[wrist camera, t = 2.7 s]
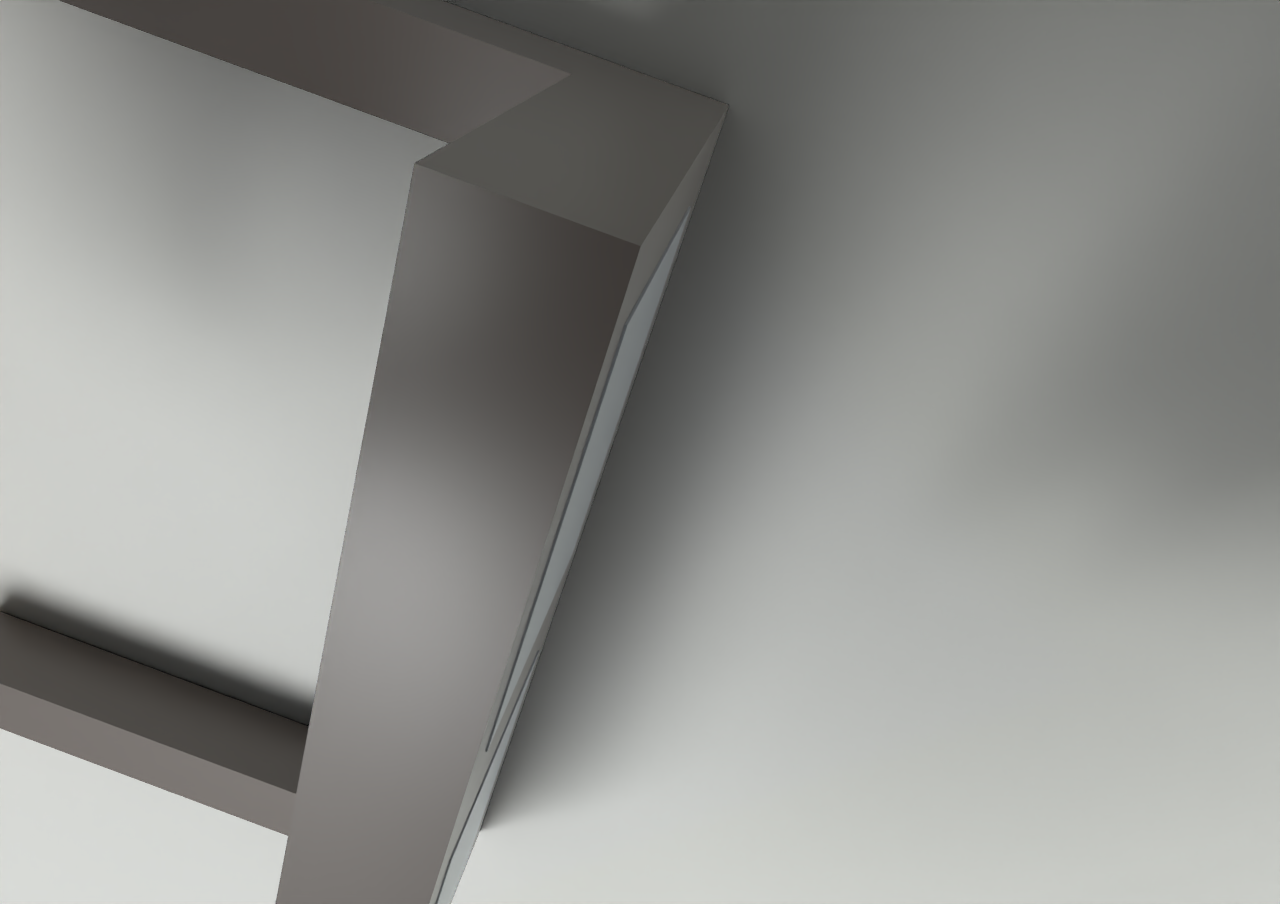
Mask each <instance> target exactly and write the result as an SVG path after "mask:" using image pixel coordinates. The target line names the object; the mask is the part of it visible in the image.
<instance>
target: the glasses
mask: <svg viewBox="0 0 1280 904" xmlns="http://www.w3.org/2000/svg"><path fill="white" fill-rule="evenodd" d="M60 1H62V2H65V3H68V4H70V5H73V6H76V7H79V8H81V9H84V10H87V11H90V12H92V13H95V14H98V15H100V16H103V17H106V18H109V19H111V20H114V21H117V22H120V23H122V24H125V25H128V26H131V27H133V28H136V29H139V30H141V31H144V32H147V33H150V34H152V35H155V36H158V37H161V38H163V39H166V40H169V41H171V42H174V43H177V44H180V45H182V46H185V47H188V48H191V49H193V50H196V51H199V52H201V53H204V54H207V55H210V56H212V57H215V58H218V59H221V60H223V61H226V62H229V63H232V64H234V65H237V66H240V67H242V68H245V69H248V70H251V71H253V72H256V73H259V74H262V75H264V76H267V77H270V78H272V79H275V80H278V81H281V82H283V83H286V84H289V85H292V86H294V87H297V88H300V89H303V90H305V91H308V92H311V93H313V94H316V95H319V96H322V97H324V98H327V99H330V100H333V101H335V102H338V103H341V104H343V105H346V106H349V107H352V108H354V109H357V110H360V111H363V112H365V113H368V114H371V115H373V116H376V117H379V118H382V119H384V120H387V121H390V122H393V123H395V124H398V125H401V126H404V127H406V128H409V129H412V130H414V131H417V132H420V133H423V134H425V135H428V136H431V137H434V138H436V139H439V140H442V141H444V142H447V143H449V144H448V145H446V146H444V147H442V148H441V149H439V150H437V151H435V152H434V153H432V154H430V155H428V156H426V157H425V158H423V159H421V160H419V161H418V162H416V163H414V169H413V174H412V179H411V185H410V190H409V195H408V201H407V206H406V211H405V217H404V222H403V227H402V233H401V238H400V243H399V249H398V254H397V259H396V265H395V270H394V275H393V281H392V286H391V291H390V297H389V302H388V307H387V313H386V318H385V323H384V329H383V334H382V339H381V345H380V350H379V355H378V361H377V366H376V371H375V377H374V382H373V387H372V393H371V398H370V403H369V409H368V414H367V419H366V425H365V430H364V435H363V441H362V446H361V451H360V457H359V462H358V467H357V473H356V478H355V483H354V489H353V494H352V499H351V505H350V510H349V515H348V521H347V526H346V531H345V536H344V542H343V547H342V552H341V558H340V563H339V568H338V574H337V579H336V584H335V590H334V595H333V600H332V606H331V611H330V616H329V622H328V627H327V632H326V638H325V643H324V648H323V654H322V659H321V664H320V670H319V675H318V680H317V686H316V691H315V696H314V702H313V707H312V712H311V718H310V723H309V727H308V726H305V725H303V724H300V723H297V722H295V721H292V720H289V719H287V718H284V717H281V716H279V715H276V714H273V713H271V712H268V711H265V710H262V709H260V708H257V707H254V706H252V705H249V704H246V703H244V702H241V701H238V700H236V699H233V698H230V697H228V696H225V695H222V694H220V693H217V692H214V691H211V690H209V689H206V688H203V687H201V686H198V685H195V684H193V683H190V682H187V681H185V680H182V679H179V678H177V677H174V676H171V675H169V674H166V673H163V672H160V671H158V670H155V669H152V668H150V667H147V666H144V665H142V664H139V663H136V662H134V661H131V660H128V659H126V658H123V657H120V656H118V655H115V654H112V653H109V652H107V651H104V650H101V649H99V648H96V647H93V646H91V645H88V644H85V643H83V642H80V641H77V640H75V639H72V638H69V637H67V636H64V635H61V634H58V633H56V632H53V631H50V630H48V629H45V628H42V627H40V626H37V625H34V624H32V623H29V622H26V621H24V620H21V619H18V618H16V617H13V616H10V615H7V614H5V613H2V612H0V728H1V729H4V730H6V731H9V732H12V733H14V734H17V735H20V736H22V737H25V738H28V739H30V740H33V741H36V742H38V743H41V744H44V745H46V746H49V747H52V748H54V749H57V750H60V751H62V752H65V753H68V754H71V755H73V756H76V757H79V758H81V759H84V760H87V761H89V762H92V763H95V764H97V765H100V766H103V767H105V768H108V769H111V770H113V771H116V772H119V773H121V774H124V775H127V776H129V777H132V778H135V779H137V780H140V781H143V782H145V783H148V784H151V785H153V786H156V787H159V788H162V789H164V790H167V791H170V792H172V793H175V794H178V795H180V796H183V797H186V798H188V799H191V800H194V801H196V802H199V803H202V804H204V805H207V806H210V807H212V808H215V809H218V810H220V811H223V812H226V813H228V814H231V815H234V816H236V817H239V818H242V819H244V820H247V821H250V822H252V823H255V824H258V825H261V826H263V827H266V828H269V829H271V830H274V831H277V832H279V833H282V834H285V835H287V836H288V840H287V846H286V851H285V856H284V862H283V867H282V872H281V878H280V883H279V888H278V894H277V899H276V904H451V902H452V899H453V897H454V894H455V892H456V889H457V887H458V884H459V882H460V879H461V877H462V874H463V872H464V869H465V867H466V864H467V862H468V859H469V857H470V854H471V852H472V849H473V847H474V844H475V842H476V839H477V837H478V834H479V831H480V829H481V826H482V823H483V820H484V817H485V814H486V811H487V808H488V805H489V802H490V799H491V797H492V794H493V791H494V788H495V785H496V782H497V779H498V776H499V773H500V770H501V767H502V765H503V762H504V759H505V756H506V753H507V750H508V747H509V744H510V741H511V738H512V735H513V733H514V730H515V727H516V724H517V721H518V718H519V715H520V712H521V709H522V706H523V704H524V701H525V698H526V695H527V692H528V689H529V686H530V683H531V680H532V677H533V674H534V672H535V669H536V666H537V663H538V660H539V657H540V654H541V651H542V648H543V645H544V642H545V640H546V637H547V634H548V631H549V628H550V625H551V622H552V619H553V616H554V613H555V610H556V608H557V605H558V602H559V599H560V596H561V593H562V590H563V587H564V584H565V581H566V578H567V576H568V573H569V570H570V567H571V564H572V561H573V558H574V555H575V552H576V549H577V546H578V544H579V541H580V538H581V535H582V532H583V529H584V526H585V523H586V520H587V517H588V514H589V512H590V509H591V506H592V503H593V500H594V497H595V494H596V491H597V488H598V485H599V483H600V480H601V477H602V474H603V471H604V468H605V465H606V462H607V459H608V456H609V453H610V451H611V448H612V445H613V442H614V439H615V436H616V433H617V430H618V427H619V424H620V421H621V419H622V416H623V413H624V410H625V407H626V404H627V401H628V398H629V395H630V392H631V389H632V387H633V384H634V381H635V378H636V375H637V372H638V369H639V366H640V363H641V360H642V357H643V355H644V352H645V349H646V346H647V343H648V340H649V337H650V334H651V331H652V328H653V325H654V323H655V320H656V317H657V314H658V311H659V308H660V305H661V302H662V299H663V296H664V293H665V291H666V288H667V285H668V282H669V279H670V276H671V273H672V270H673V267H674V264H675V262H676V259H677V256H678V253H679V250H680V247H681V244H682V241H683V238H684V235H685V232H686V230H687V227H688V224H689V221H690V218H691V215H692V212H693V209H694V206H695V203H696V200H697V198H698V195H699V192H700V189H701V186H702V183H703V180H704V177H705V174H706V171H707V168H708V166H709V163H710V160H711V157H712V154H713V151H714V148H715V145H716V142H717V139H718V136H719V134H720V131H721V128H722V125H723V122H724V119H725V116H726V113H727V110H728V107H729V105H727V104H725V103H722V102H719V101H717V100H714V99H711V98H708V97H706V96H703V95H700V94H697V93H695V92H692V91H689V90H686V89H684V88H681V87H678V86H675V85H673V84H670V83H667V82H664V81H662V80H659V79H656V78H653V77H651V76H648V75H645V74H643V73H640V72H637V71H634V70H632V69H629V68H626V67H623V66H621V65H618V64H615V63H612V62H610V61H607V60H604V59H601V58H599V57H596V56H593V55H590V54H588V53H585V52H582V51H579V50H577V49H574V48H571V47H569V46H566V45H563V44H560V43H558V42H555V41H552V40H549V39H547V38H544V37H541V36H538V35H536V34H533V33H530V32H527V31H525V30H522V29H519V28H516V27H514V26H511V25H508V24H506V23H503V22H500V21H497V20H495V19H492V18H489V17H486V16H484V15H481V14H478V13H475V12H473V11H470V10H467V9H464V8H462V7H459V6H456V5H453V4H451V3H448V2H445V1H442V0H60Z"/></svg>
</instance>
